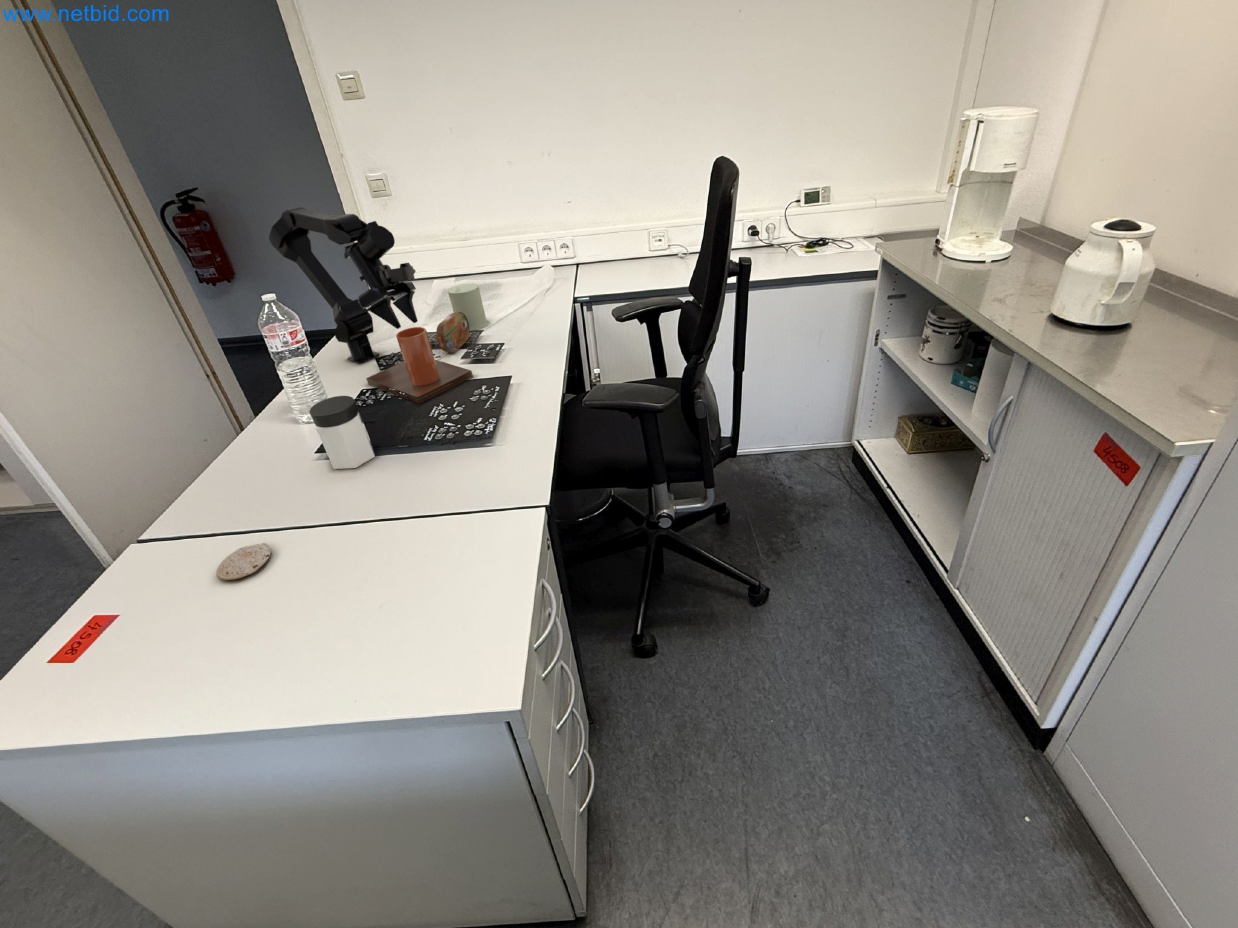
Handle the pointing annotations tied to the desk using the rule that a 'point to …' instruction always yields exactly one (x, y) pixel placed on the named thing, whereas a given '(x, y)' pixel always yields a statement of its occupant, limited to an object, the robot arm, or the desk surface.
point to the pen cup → (418, 356)
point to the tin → (453, 332)
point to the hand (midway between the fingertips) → (407, 325)
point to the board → (401, 382)
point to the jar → (342, 432)
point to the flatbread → (243, 561)
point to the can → (468, 304)
